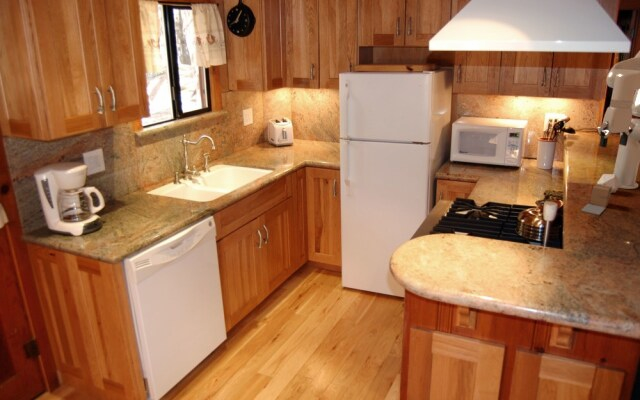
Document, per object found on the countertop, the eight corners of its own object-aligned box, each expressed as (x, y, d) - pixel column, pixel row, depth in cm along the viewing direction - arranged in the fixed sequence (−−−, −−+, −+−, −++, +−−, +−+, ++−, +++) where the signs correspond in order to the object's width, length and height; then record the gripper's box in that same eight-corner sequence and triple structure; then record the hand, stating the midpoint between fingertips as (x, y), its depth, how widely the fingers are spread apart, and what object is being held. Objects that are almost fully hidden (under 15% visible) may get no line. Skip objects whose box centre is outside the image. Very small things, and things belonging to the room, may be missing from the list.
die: (617, 197, 228) (628, 178, 228) (600, 187, 228) (611, 168, 228) (606, 198, 236) (617, 179, 236) (590, 187, 236) (601, 169, 236)
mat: (587, 204, 218) (587, 203, 217) (605, 208, 213) (605, 207, 213) (580, 211, 211) (580, 210, 210) (599, 215, 206) (599, 214, 206)
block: (593, 200, 222) (596, 183, 219) (608, 203, 219) (612, 186, 216) (589, 204, 218) (592, 186, 215) (604, 207, 214) (608, 189, 212)
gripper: (631, 101, 208) (623, 142, 214) (595, 103, 204) (588, 145, 210) (646, 104, 201) (637, 146, 207) (609, 107, 197) (601, 149, 203)
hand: (612, 145), depth 208 cm, fingers open, 9 cm apart
